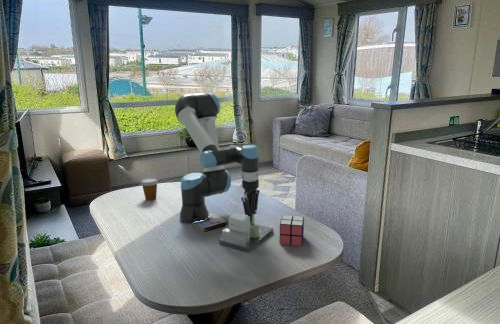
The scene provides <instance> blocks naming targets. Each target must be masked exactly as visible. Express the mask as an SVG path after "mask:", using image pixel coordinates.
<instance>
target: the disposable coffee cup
mask: <svg viewBox="0 0 500 324" xmlns="http://www.w3.org/2000/svg"><path fill="white" fill-rule="evenodd" d="M140 184H141V185H142V190H143V193H144V194H143V195H144V197H145V201H147V202H151V201H155V200H156V199H157V191H158V180H157V178H156V177H146V178H144V179H142V180H141V182H140Z"/></svg>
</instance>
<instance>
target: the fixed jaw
mask: <svg viewBox="0 0 500 324" xmlns="http://www.w3.org/2000/svg"><path fill="white" fill-rule="evenodd" d="M221 232H222V236H221V237H223V241H225V242H229V243H232V244H236V245H239V246H243V247H247V246H248V245H249V234H248V233H244V232H240V231H236V230H232V229H229V227H228V228H227V227H225V228H224V229H223V230H222V231H221Z"/></svg>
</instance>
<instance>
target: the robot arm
mask: <svg viewBox="0 0 500 324" xmlns="http://www.w3.org/2000/svg"><path fill="white" fill-rule="evenodd" d="M220 103H221V102H220V101H219V98H218V97H217V95H216V94H215V93H212V92H199V93H185V94H183V95H181V96H180V97H179V98H178V100H176V103H175V106H174V113H175V114H174V115H175V116H176V117H175V118H177V120H178V122H180V123H181V124H183V127H184V128H185V129H186V131H187V133H188V134H189V136H190V138H191V139H192V141H193V143H194V144H195V145H196V147H197V149H198V151H199V152H200V154H199V162H200V165H201V167H203V168H204V169H203V172H191V173H187V174H185V175H183V177H182V178H181V180H180V191H181V201H182V202H181V203H182V204H181V209H180V213H179V220H180V222H182V223H184V224H191V225H192V223H193V222H195V221H200V220H205V219H206V218H208V216H209V217H210V212H209V211H208V208H207V205H206V203H205V202H206V201H205V200H206V197H210V196H215V195H222V194H224V193H227V192H229V190H230V188H231V185H232V178H231V177H232V176H231V174H230V172H229V171H228V170H226V168H225V166H224V165H230V164H231V165H232V164H239V165H241V179H242V181H241V184H242V185H241V188H242V189H243V190H244V196H242V197H241V201H242V206H243V211H244V215H246V216H250V223H252V224H254V225H255V224H256V222H255V221H256V220H255V215H256V214H257V211H258V204H259V203H258V202H259V195H260V189H258V188H260V187H259V186H260V184H259V183H260V182H259V181H260V180H259V179H260V178H259V175H260V174H259V148H258V146H257V145H255V144H244V145H242V146H240V145H238V144H231V145H229V146H227V147H224V148H220V146H219V139H218V138H219V137H218V133H217V125H216V119H217V118H218V114H219V113H220V109H221V105H220ZM208 219H209V218H208ZM193 224H194V223H193Z"/></svg>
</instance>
